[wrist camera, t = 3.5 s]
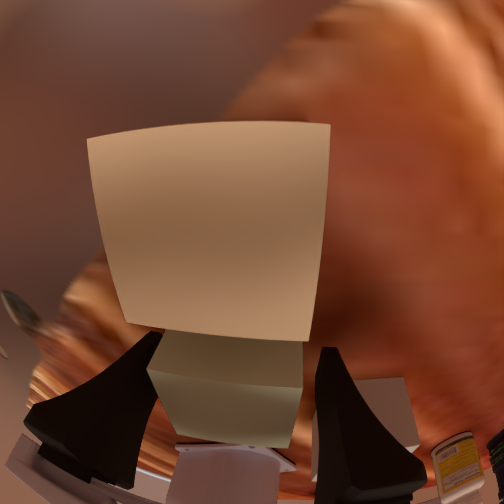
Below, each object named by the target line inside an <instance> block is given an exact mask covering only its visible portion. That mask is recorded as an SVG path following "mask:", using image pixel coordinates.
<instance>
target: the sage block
mask: <svg viewBox="0 0 504 504" xmlns="http://www.w3.org/2000/svg"><path fill="white" fill-rule="evenodd" d="M147 372H148V374H149V376H150V379H151V381H152V383H153V385H154V388H155V390H156V392H157V394H158V396H159V399H160V401H161V403H162V405H163V407H164V409H165V411H166V413H167V415H168V417H169V419H170V421H171V423H172V425H173V427H174V429H175V431H176V433H177V434H179V435H184V436H189V437H194V438H199V439H205V440H210V441H217V442H223V443H230V444H238V445H247V446H258V447H271V448H288V447H289V444H290V440H291V436H292V432H293V428H294V424H295V420H296V416H297V412H298V408H299V403H300V399H301V395H302V390H303V341H285V340H268V339H253V338H241V337H230V336H220V335H210V334H201V333H193V332H185V331H178V330H170V329H166V331H165V333H164V335H163V337H162V339H161V341H160V343H159V345H158V347H157V349H156V351H155V353H154V355H153V357H152V359H151V361H150V363H149V365H148V367H147Z"/></svg>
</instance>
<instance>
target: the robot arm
mask: <svg viewBox="0 0 504 504" xmlns="http://www.w3.org/2000/svg"><path fill="white" fill-rule="evenodd" d="M162 337H163V335H162V333H160V332H154V331H150V332H149V333H148V334H146V335H145V336H144V337H143V338H142V339H141V340H140V341H138V342H137V343H136V344H135V345H134V346H133V347H132V348H131V349H130V350H128V351H127V352H126V353H125V354H124V355H123V356H121V357H120V358H119V359H118V360H117V361H116V362H114V363H113V364H112V365H110V366H109V367H108V368H107V369H105V370H104V371H103V372H101V373H100V374H98V375H97V376H95V377H94V378H92V379H91V380H89V381H88V382H86V383H84V384H82V385H80V386H79V387H77V388H75V389H73V390H71V391H69V392H67V393H65V394H62V395H60V396H57V397H55V398H52V399H49V400H46V401H43V402H39V403H36V404H34V405H33V406H32V408H31V410H30V411H29V413H28V415H27V416H26V418H25V419H24V421H23V422H24V425H25V426H26V427H27V428H28V429H29V430H30V431H31V432H32V433H33V434H34V435H35V436H36V437H37V438H38V439H39V440H40V441H42V442H43V443H42V445H41V446H40V445H38V444H37V443H36V442H34V441H33V440H31V439H30V438H28V437H27V436H26V435H24V434H21V435H20V437H19V439H18V441H17V443H16V444H15V446H14V448H13V450H12V452H11V454H10V456H9V457H8V459H7V461H6V463H5V467H6V468H7V469H8V470H9V471H10V472H11V473H12V474H14V475H15V476H16V477H17V478H18V479H20V480H21V481H22V482H23V483H24V484H25V485H27V486H28V487H29V488H30V489H32V490H33V491H34V492H35V493H36V494H38V495H39V496H40V497H42V498H43V499H44V500H46V501H47V502H48V503H50V504H117V502H116V501H118V502H120V503H122V504H162V503H158V502H155V501H152V500H149V499H146V498H143V497H140V496H137V495H134V494H132V493H129V492H126V491H124V490H121V489H119V488H116V487H114V486H115V485H117V486H119V487H121V488H124V489H127V490H129V489H131V488H133V487H134V480H135V473H136V466H137V461H138V456H139V451H140V447H141V443H142V439H143V435H144V431H145V428H146V424H147V421H148V419H149V416H150V414H151V411H152V409H153V407H154V405H155V402H156V400H157V398H158V394H157V392H156V390H155V388H154V385H153V383H152V381H151V379H150V376H149V374H148V372H147V367H148V365H149V363H150V361H151V359H152V357H153V355H154V353H155V351H156V349H157V347H158V345H159V343H160V341H161V339H162ZM315 401H316V412H317V423H318V434H319V455H318V472H317V483H316V493H315V501H314V504H410V501H412V500H413V495H412V493H413V492H414V491H416V490H418V489H420V488H421V487H423V486H424V485H425V484H426V483H427V481H428V480H427V474H426V470H425V467H424V464H423V462H422V461H421V460H419V459H418V458H417V457H415V456H414V455H413V454H412V453H411V452H409V451H408V450H407V449H406V448H405V447H404V446H403V445H402V444H401V443H399V442H398V441H397V440H396V439H395V437H394V436H393V435H392V434H391V433H390V432H389V431H388V430H387V429H386V428H385V427H384V426H383V424H382V423H381V422H380V421H379V420H378V418H377V417H376V416H375V414H374V413H373V412H372V410H371V409H370V408H369V406H368V405H367V403H366V402H365V400H364V399H363V397H362V395H361V394H360V392H359V390H358V389H357V387H356V385H355V384H354V382H353V380H352V378H351V376H350V374H349V372H348V370H347V368H346V366H345V364H344V362H343V360H342V358H341V356H340V353H339V351H338V349H337V348H336V347H322V350H321V354H320V359H319V363H318V367H317V371H316V375H315ZM175 449H176V450H178V451H179V452H180V453H179V457H178V460H177V463H176V466H175V470H174V473H173V476H172V480H171V483H170V486H169V490H168V493H167V497H166V504H277V498H278V488H279V478H280V472H287V471H295V470H296V469H297V467H296V466H295V465H294V464H292V463H291V462H289V461H288V460H287V459H285V458H284V457H282V456H281V455H279V454H278V453H277V452H275V451H274V450H273V449H271V448H270V447H258V446H247V445H238V444H230V443H223V444H196V445H179V444H177V445H175ZM108 483H110V484H112V485H114V486H111V485H109V484H108ZM418 504H441V498H440V497H438V498H435V499H432V500H428V501H425V502H422V503H418Z"/></svg>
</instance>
